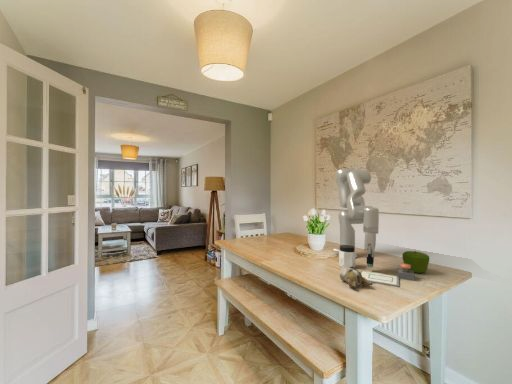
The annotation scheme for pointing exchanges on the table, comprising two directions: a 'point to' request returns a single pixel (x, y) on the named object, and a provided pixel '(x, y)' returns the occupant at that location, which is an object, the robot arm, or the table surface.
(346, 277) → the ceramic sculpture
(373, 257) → the marker
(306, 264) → the table surface
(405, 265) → the button
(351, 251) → the jar
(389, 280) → the white flat board
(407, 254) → the apple
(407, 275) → the button housing
